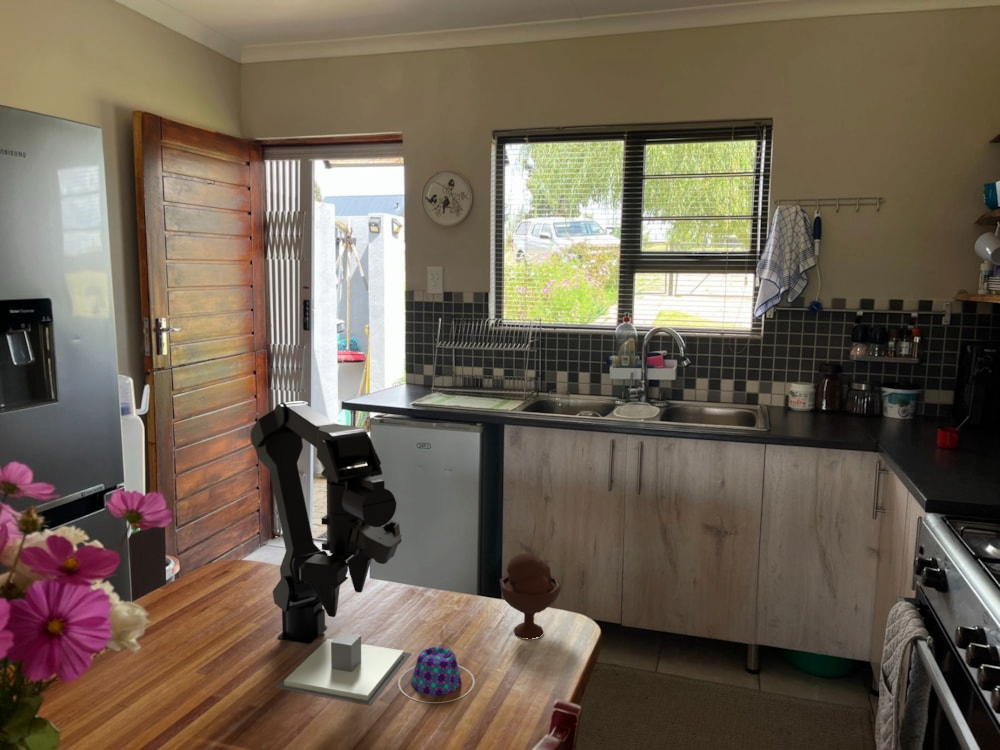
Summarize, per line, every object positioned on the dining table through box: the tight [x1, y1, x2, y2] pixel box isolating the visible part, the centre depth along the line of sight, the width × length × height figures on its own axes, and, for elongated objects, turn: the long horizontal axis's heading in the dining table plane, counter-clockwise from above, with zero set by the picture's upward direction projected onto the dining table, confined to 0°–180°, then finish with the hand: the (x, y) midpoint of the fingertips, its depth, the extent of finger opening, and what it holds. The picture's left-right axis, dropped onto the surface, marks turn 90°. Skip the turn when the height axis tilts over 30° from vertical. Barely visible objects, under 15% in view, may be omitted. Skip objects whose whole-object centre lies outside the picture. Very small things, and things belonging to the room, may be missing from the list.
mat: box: [274, 639, 412, 706], centre depth 121 cm, size 16×16×1 cm
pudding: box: [397, 646, 476, 704], centre depth 118 cm, size 12×12×5 cm
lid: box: [283, 631, 405, 700], centre depth 121 cm, size 14×14×5 cm
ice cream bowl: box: [499, 552, 562, 639], centre depth 135 cm, size 11×11×15 cm
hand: (345, 603), depth 120 cm, fingers open, 9 cm apart
